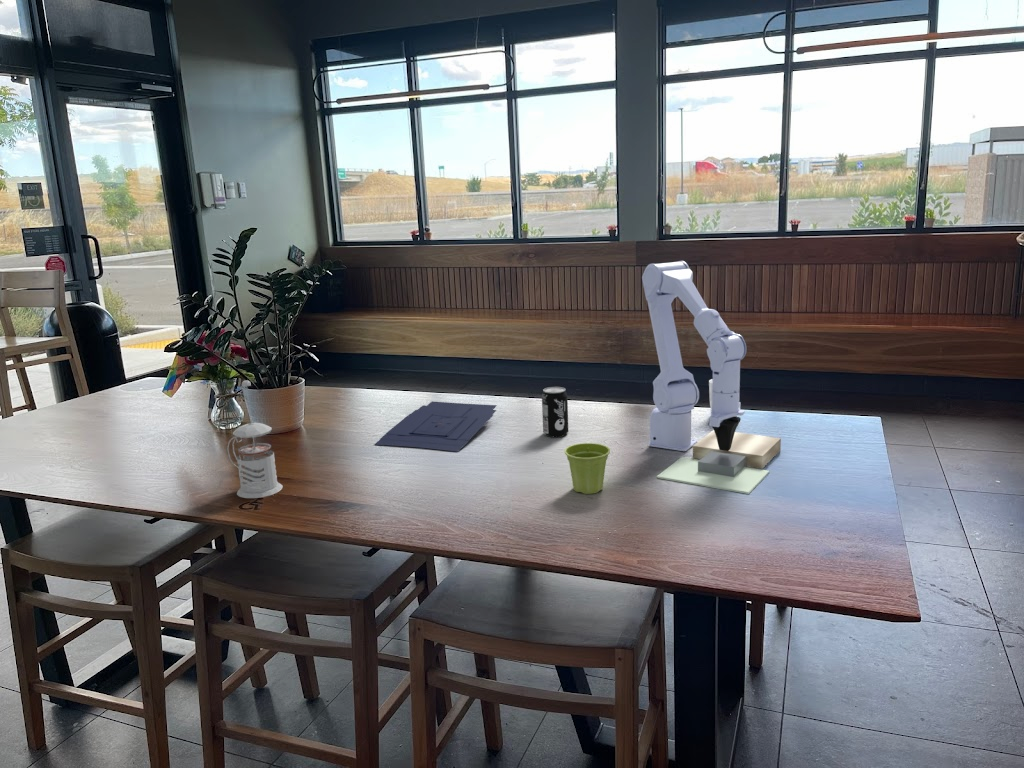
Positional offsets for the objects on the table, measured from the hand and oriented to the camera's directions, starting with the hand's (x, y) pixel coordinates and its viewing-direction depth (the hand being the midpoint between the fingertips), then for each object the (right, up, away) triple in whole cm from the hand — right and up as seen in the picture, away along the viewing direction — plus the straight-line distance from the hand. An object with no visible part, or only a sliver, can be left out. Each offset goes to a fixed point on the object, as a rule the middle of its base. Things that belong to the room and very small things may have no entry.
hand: (724, 449), depth 173 cm
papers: (-66, +1, +36) cm, 76 cm away
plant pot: (-31, -8, -9) cm, 33 cm away
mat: (-4, -5, -5) cm, 8 cm away
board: (+5, -2, +8) cm, 9 cm away
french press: (-104, -9, 0) cm, 105 cm away
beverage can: (-36, +1, +29) cm, 46 cm away
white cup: (+10, +5, +37) cm, 39 cm away
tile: (-1, -4, -2) cm, 5 cm away
